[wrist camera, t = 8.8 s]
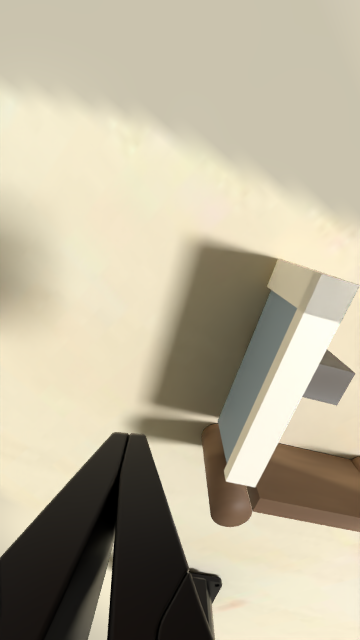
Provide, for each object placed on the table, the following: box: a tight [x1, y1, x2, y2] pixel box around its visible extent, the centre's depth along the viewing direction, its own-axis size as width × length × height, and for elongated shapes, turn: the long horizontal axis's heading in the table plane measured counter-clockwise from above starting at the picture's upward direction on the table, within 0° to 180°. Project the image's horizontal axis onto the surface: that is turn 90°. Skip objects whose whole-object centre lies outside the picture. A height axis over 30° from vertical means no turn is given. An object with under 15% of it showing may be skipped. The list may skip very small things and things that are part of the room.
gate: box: [218, 259, 360, 487], centre depth 16 cm, size 2×12×5 cm, turn 164°
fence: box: [202, 350, 360, 532], centre depth 18 cm, size 11×15×6 cm
